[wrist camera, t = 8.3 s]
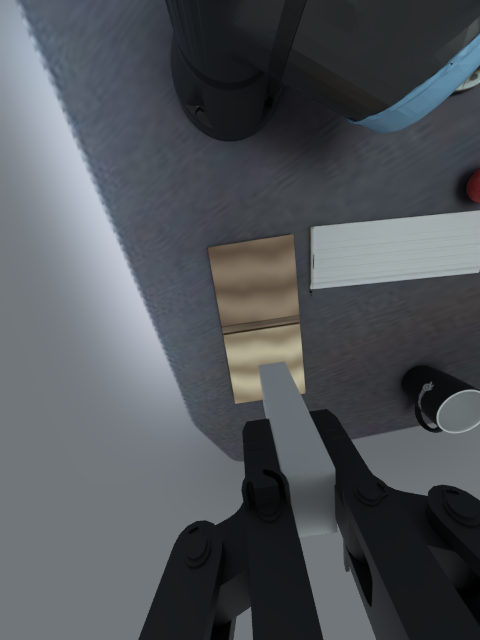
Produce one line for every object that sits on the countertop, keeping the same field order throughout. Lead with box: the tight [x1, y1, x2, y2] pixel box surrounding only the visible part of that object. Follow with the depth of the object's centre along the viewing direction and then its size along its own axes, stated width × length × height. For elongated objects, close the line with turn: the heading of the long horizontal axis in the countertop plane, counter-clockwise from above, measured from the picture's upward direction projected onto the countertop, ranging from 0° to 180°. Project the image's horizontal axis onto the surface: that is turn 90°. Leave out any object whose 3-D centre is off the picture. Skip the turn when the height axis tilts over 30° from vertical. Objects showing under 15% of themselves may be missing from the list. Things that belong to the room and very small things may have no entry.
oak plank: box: [223, 322, 305, 404], centre depth 46 cm, size 14×14×2 cm
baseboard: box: [310, 211, 480, 296], centre depth 41 cm, size 31×3×12 cm
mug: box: [403, 367, 480, 433], centre depth 45 cm, size 12×9×10 cm
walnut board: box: [208, 234, 300, 333], centre depth 41 cm, size 15×14×2 cm
